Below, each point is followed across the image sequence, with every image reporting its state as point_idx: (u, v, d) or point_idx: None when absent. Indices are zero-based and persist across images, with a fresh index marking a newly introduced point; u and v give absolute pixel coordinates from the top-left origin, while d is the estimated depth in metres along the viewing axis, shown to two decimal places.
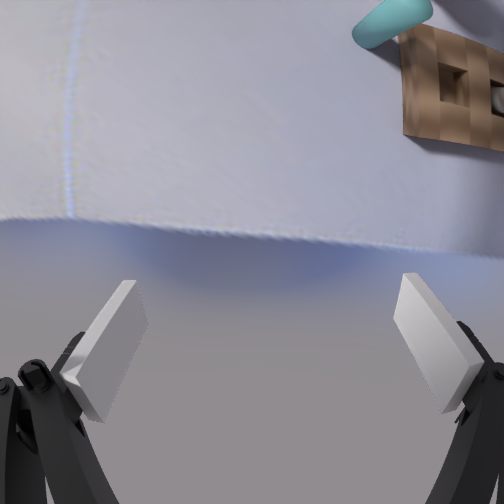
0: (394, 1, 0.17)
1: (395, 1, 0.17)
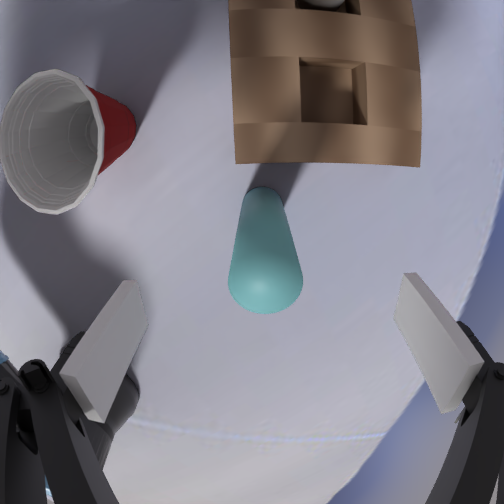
0: None
1: (272, 309, 0.17)
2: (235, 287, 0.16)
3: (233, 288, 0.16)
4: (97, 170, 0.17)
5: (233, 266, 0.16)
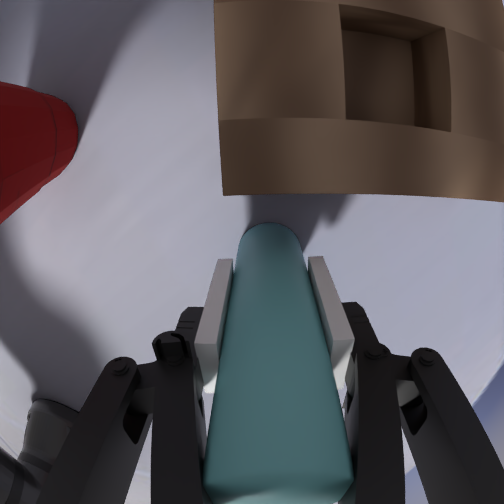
0: None
1: None
2: (216, 498, 0.06)
3: (212, 498, 0.06)
4: None
5: (208, 483, 0.05)
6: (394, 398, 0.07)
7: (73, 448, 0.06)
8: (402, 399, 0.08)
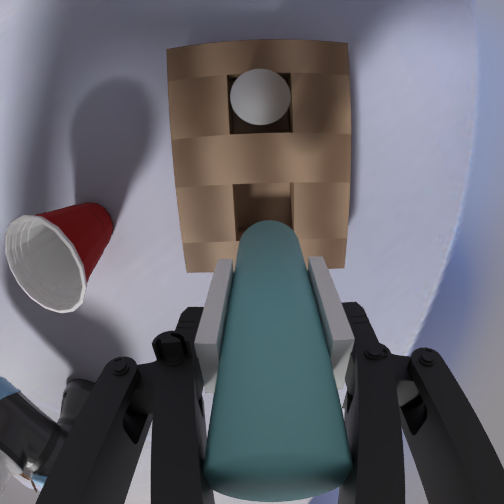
0: None
1: None
2: (217, 484, 0.06)
3: (214, 484, 0.06)
4: (84, 293, 0.24)
5: (210, 466, 0.06)
6: (394, 398, 0.07)
7: (73, 448, 0.06)
8: (402, 399, 0.08)
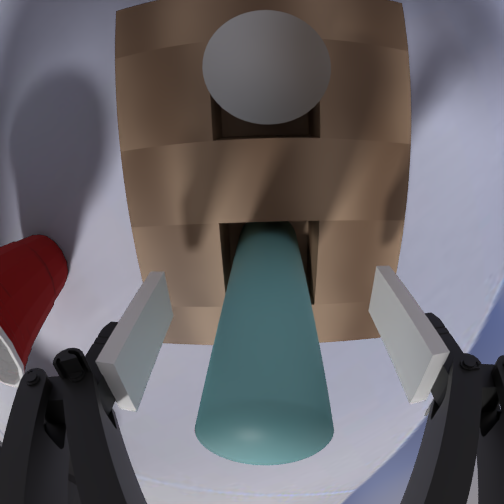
0: None
1: None
2: (209, 439, 0.08)
3: (206, 440, 0.08)
4: (22, 374, 0.14)
5: (202, 417, 0.07)
6: (478, 409, 0.06)
7: (8, 457, 0.05)
8: (485, 404, 0.07)
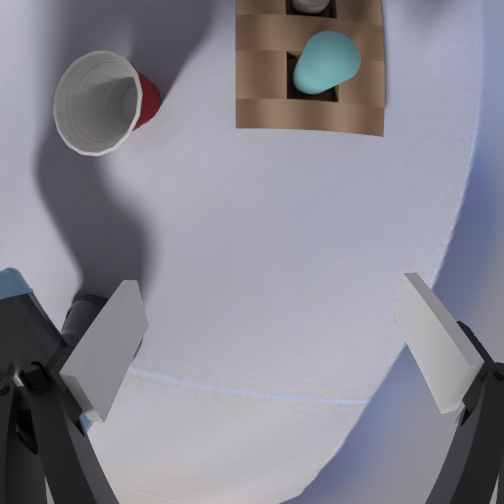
0: (335, 82, 0.18)
1: (337, 82, 0.18)
2: (310, 56, 0.17)
3: (308, 57, 0.17)
4: (135, 123, 0.24)
5: (309, 40, 0.17)
6: None
7: None
8: None
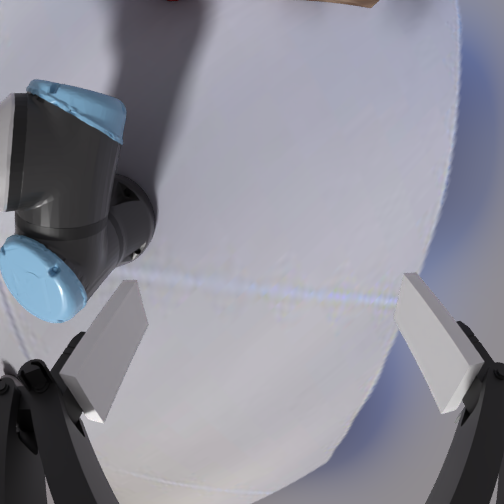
0: None
1: None
2: None
3: None
4: None
5: None
6: None
7: None
8: None
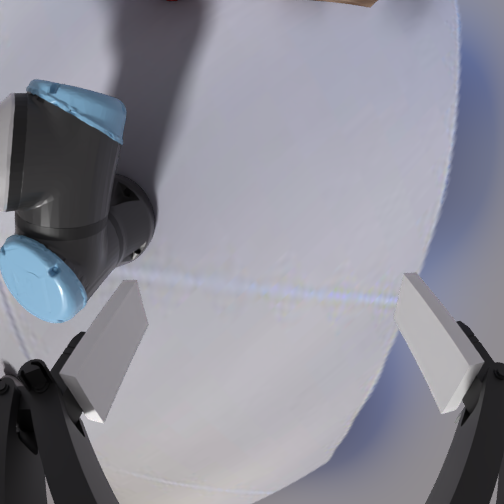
0: None
1: None
2: None
3: None
4: None
5: None
6: None
7: None
8: None
